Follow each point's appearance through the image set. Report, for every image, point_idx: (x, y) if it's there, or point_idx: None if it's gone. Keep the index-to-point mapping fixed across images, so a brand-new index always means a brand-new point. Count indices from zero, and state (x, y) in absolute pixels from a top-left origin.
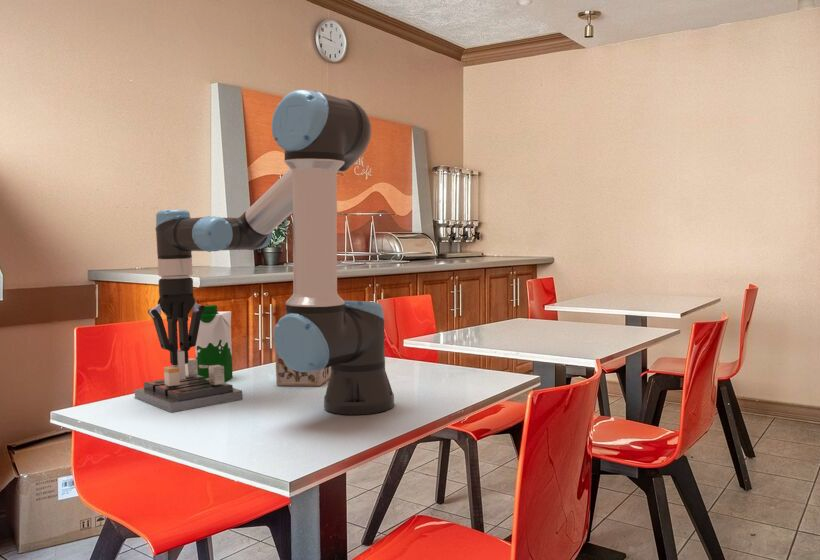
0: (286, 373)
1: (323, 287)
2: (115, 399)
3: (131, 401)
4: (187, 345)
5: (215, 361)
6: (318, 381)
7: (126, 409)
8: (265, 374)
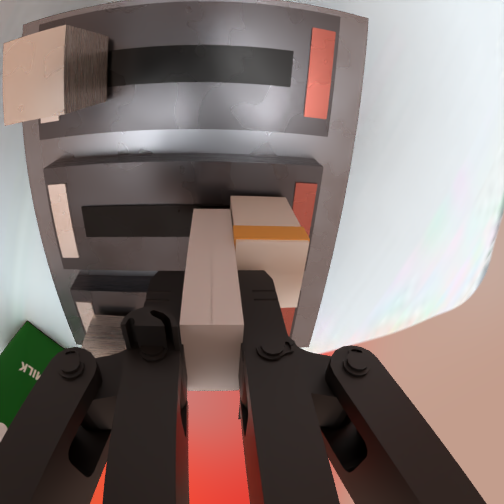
0: None
1: None
2: (342, 340)
3: (335, 294)
4: (136, 366)
5: (20, 381)
6: None
7: (406, 205)
8: None
